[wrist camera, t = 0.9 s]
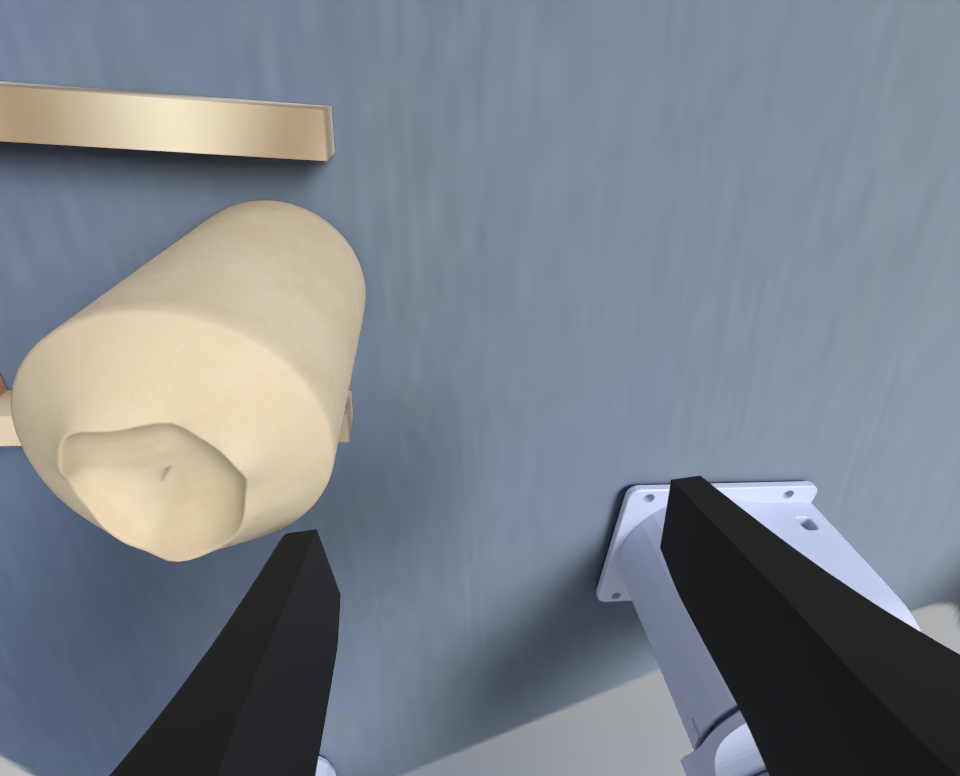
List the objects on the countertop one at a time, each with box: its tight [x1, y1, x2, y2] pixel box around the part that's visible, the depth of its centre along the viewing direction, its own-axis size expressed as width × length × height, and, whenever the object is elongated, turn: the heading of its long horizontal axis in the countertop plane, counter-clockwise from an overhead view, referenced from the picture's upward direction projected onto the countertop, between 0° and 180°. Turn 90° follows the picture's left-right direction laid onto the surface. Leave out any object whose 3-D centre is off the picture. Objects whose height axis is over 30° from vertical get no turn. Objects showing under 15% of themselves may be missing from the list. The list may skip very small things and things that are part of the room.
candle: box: [11, 200, 366, 562], centre depth 13 cm, size 6×6×10 cm
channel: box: [0, 81, 353, 446], centre depth 15 cm, size 13×11×3 cm
